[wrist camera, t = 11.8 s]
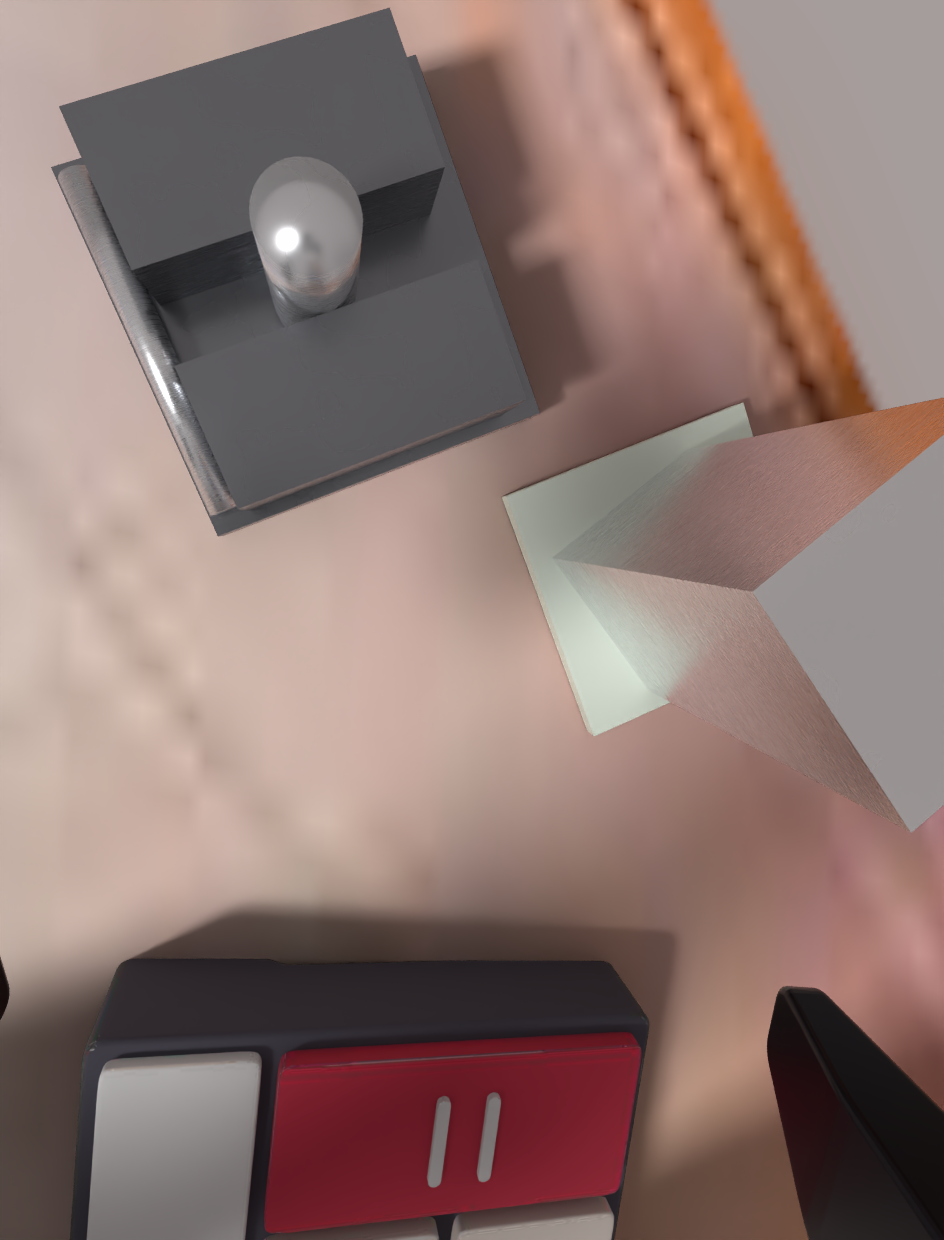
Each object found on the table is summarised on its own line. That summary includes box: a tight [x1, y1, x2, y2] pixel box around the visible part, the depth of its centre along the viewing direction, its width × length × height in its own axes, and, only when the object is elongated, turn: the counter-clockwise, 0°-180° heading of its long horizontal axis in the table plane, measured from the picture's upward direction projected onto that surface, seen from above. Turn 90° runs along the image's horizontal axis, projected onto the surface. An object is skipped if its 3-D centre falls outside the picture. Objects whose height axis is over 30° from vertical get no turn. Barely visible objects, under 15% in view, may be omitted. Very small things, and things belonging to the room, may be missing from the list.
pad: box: [502, 403, 753, 736], centre depth 21 cm, size 8×8×1 cm
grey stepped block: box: [552, 398, 944, 833], centre depth 16 cm, size 7×5×10 cm
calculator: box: [70, 959, 649, 1240], centre depth 21 cm, size 11×4×15 cm
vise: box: [51, 8, 540, 536], centre depth 16 cm, size 9×9×6 cm
